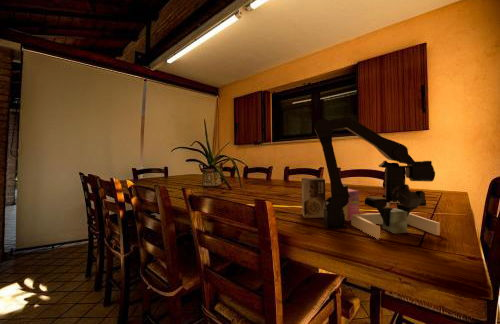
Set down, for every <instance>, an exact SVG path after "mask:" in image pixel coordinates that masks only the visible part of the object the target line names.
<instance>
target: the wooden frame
mask: <svg viewBox="0 0 500 324" xmlns="http://www.w3.org/2000/svg"><path fill="white" fill-rule="evenodd" d="M350 223H351V224H350V225H351V226H353V227H354V228H355V229H358V230H359V229H360V230H359V231H361V230H362V231H361V232H363V233H365V234H366V233H367V234H366V235H368V234H369V235H368V236H370V235H371V236H370V237H372V236H373V237H375V238H376V239H375V238H374V239H375V240H380V239H381V226H380V225H383V219H382V217H381V215H380V213H379V212H370V213H359V214H351V221H350ZM376 224H379V225H376ZM408 225H409V226H412V227H414V228H417V229H418V230H419V229H420V231H424V232H426V233H430V234H432V235H434V236H440V235H441V234H440V233H441V222H438V221H436V220H432V219H429V218H426V217H423V216H420V215H417V214H413V213H412V212H410V213H409V215H408V217H407V226H408ZM373 237H372V238H373ZM379 238H380V239H379Z"/></svg>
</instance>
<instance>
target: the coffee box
mask: <svg viewBox="0 0 500 324" xmlns="http://www.w3.org/2000/svg"><path fill="white" fill-rule="evenodd" d="M325 201H326V179H324V178H323V177H302V178H301V215H302V216H303V218H307V219H308V218H312V219H313V218H316V219H317V218H318V219H319V218H322V219H324V208H326V207H325Z"/></svg>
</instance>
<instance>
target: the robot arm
mask: <svg viewBox="0 0 500 324" xmlns="http://www.w3.org/2000/svg"><path fill="white" fill-rule="evenodd" d="M341 130H348V131H349V132H350V133H352V134H354V135H355V136H357V137H358V138H360V139H362V140H363V141H365V142H367V143H368V144H370V145H371V146H373V147H374V148H376V150H377V151H378V152H379V153H380V154H381V155H382V156H383V157H385V159H386V160H383V161H382V162H381V163H380V164H378V167H379V168H381V169H382V168H385V177H384V181H385V182H382V186H383V187H384V188H385V190H384V194H382V197H379V196H376V195H375V196H366V197H365V199H364V205H365V206H367V207H371V208H375V209H376V210H377V211H378V213H380V215H381V217H382V219H383V221H384V223H385V225H386V226H387V227H389V223H390V212H391V210H392V207H390V205H396V208H397V209H400V210H403V211H406V212H407V217H408V215H409V213H412V211H414V210H415V209H418V208H419V207H426V206H427V200H426V192H424V190H416V191H413V190H412V191H411V190H410V186H409V184H407V183H406V178H407V179H409V181H410V182H433V181H434V180H435V177H436V171H435V168H434V166H433V163H432V160H422V161H420V160H419V161H417V160H416V161H415V160H414V158H413V157H412V156H411V155H410V154H409V150H408V147H407V146H406V145H404V144H402V143H400V142H397V141H395V140H392V139H389V138H386V137H384V136H382V135H380V134H378V133H377V132H375V131H374V130H372V129H370V128H368V127H367V126H365V125H363V124H362V123H360V122H359V121H357V120H356V119H355V118H353V117H352V116H345V117H340V118H333V119H327V118H326V119H325V118H320V119H318V120H317V121H316V122H315V124H314V131H315V133H316V135H317V138H318V140H319V143H320V145H321V147H322V152H323V156H324V160H325V164H326V169H327V174H328V178H329V187H330V188H329V189H330V196H329V197H328V198H327V199H325V207H326V208H324V218H323V221H322V222H321V224H322V225H323V226H325V227H326V228H327V229H329V230H330V229H346V228H347V226H346V225H345V223H346V220H345V214H344V210H343V207H345V206H346V205H347V204H348V202H349V198H348V197H350V195H349V193H348V189H349V187H348V184H347V183H343V182H342V180H341V177H340V171H339V167H338V163H337V158H336V154H335V151H334V150H335V149H334V146H333V133H332V132H335V131H341ZM387 160H388V161H393V162H388V161H387ZM400 164H404V165H400ZM405 164H406V165H405Z"/></svg>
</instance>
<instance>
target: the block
mask: <svg viewBox="0 0 500 324" xmlns="http://www.w3.org/2000/svg"><path fill="white" fill-rule="evenodd" d="M391 208H392V207H391ZM385 229H386V230H385ZM382 230H385V231H387V230H388V231H387V232H389V231H390V232H389V233H391V232H392V233H391V234H393V233H394V234H406V233H408V224H407V212H406V211H403V210H400V209H397V207H395V208H394V207H393V208H392V210H391V212H390V223H389V227H387V226H386V225H385V223H384V221H383V224H382Z"/></svg>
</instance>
